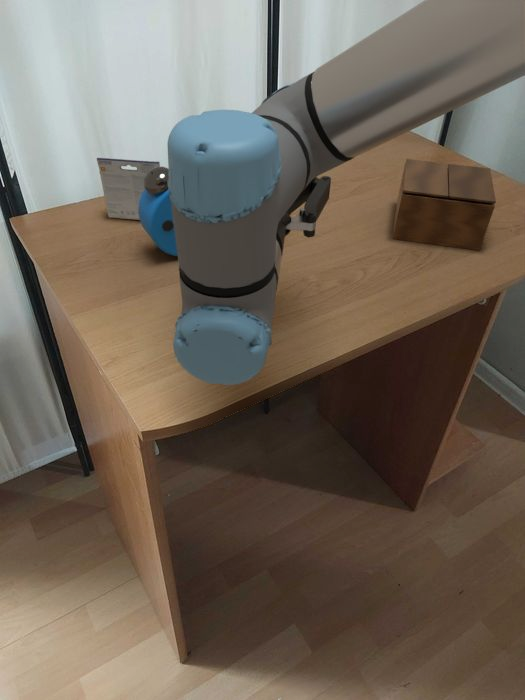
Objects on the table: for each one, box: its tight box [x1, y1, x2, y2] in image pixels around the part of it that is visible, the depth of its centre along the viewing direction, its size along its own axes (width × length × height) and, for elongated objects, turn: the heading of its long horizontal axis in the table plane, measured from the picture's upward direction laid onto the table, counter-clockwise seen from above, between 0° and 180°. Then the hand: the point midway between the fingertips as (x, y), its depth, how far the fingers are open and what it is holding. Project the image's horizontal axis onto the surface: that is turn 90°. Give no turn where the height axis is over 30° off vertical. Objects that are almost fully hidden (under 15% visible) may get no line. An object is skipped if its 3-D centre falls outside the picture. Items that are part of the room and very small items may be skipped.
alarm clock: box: [139, 166, 178, 257], centre depth 87 cm, size 13×6×15 cm, turn 119°
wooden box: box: [392, 158, 496, 251], centre depth 96 cm, size 15×13×9 cm
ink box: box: [96, 157, 161, 221], centre depth 95 cm, size 12×2×12 cm, turn 82°
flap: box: [447, 163, 497, 205], centre depth 92 cm, size 7×13×1 cm, turn 167°
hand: (266, 156), depth 69 cm, fingers closed on food container, 9 cm apart
